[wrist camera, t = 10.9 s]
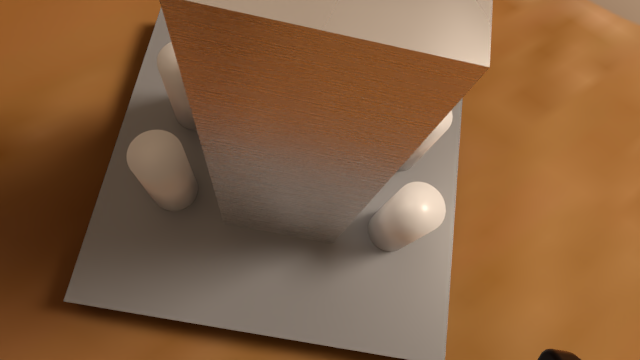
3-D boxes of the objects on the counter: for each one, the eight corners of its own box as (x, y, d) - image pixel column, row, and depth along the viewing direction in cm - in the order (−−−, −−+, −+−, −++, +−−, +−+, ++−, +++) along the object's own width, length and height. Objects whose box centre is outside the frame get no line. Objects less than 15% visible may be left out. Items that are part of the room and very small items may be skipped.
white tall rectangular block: (332, 243, 17) (490, 66, 6) (223, 223, 17) (157, -6, 5) (351, 121, 19) (501, -206, 7) (252, 101, 18) (247, -275, 7)
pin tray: (432, 363, 17) (493, 374, 13) (76, 303, 16) (9, 293, 12) (453, 84, 21) (505, 19, 17) (167, 22, 20) (142, -65, 16)
